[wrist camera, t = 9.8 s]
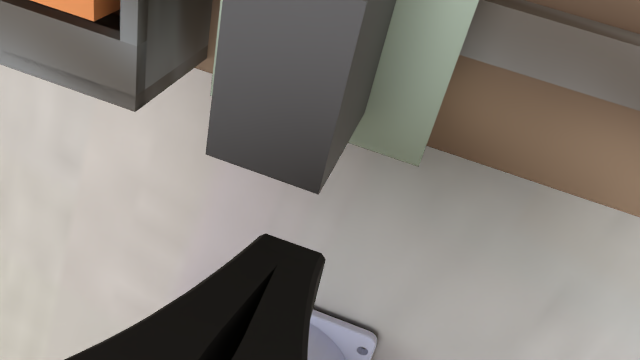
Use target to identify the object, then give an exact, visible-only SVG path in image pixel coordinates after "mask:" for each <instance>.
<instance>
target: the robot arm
mask: <svg viewBox="0 0 640 360" xmlns="http://www.w3.org/2000/svg"><path fill="white" fill-rule="evenodd" d="M324 264H325V258H324V256H323V255H322V253H319V252H316V251H313V250H310V249H308V248H305V247H302V246H299V245H296V244H293V243H291V242H288V241H285V240H282V239H279V238H276V237H274V236H271V235H268V234H263V235H261V236H259V237H258V238H257V239H256V240H255V241H253V242H252V243H251V244H250V245H249V246H248V247H246V248H245V249H244V250H243V251H242V252H240V253H239V254H238V255H237V256H235V257H234V258H233V259H232V260H230V261H229V262H228V263H226V264H225V265H224V266H223V267H221V268H220V269H219V270H217V271H216V272H215V273H213V274H212V275H210V276H209V277H208V278H206V279H205V280H203V281H202V282H201V283H199V284H198V285H196V286H195V287H194V288H192V289H191V290H189V291H188V292H186V293H185V294H183V295H182V296H180V297H179V298H177V299H176V300H174V301H172V302H171V303H169V304H168V305H166V306H165V307H163V308H161V309H160V310H158V311H157V312H155V313H154V314H152V315H150V316H149V317H147V318H145V319H143V320H142V321H140V322H138V323H137V324H135V325H133V326H131V327H129V328H128V329H126V330H124V331H122V332H120V333H118V334H116V335H114V336H112V337H111V338H109V339H107V340H105V341H103V342H101V343H99V344H97V345H94V346H92V347H90V348H88V349H86V350H84V351H82V352H80V353H78V354H76V355H73V356H71V357H69V358H67V359H65V360H371V358H372V355H373V353H374V350H375V348H376V345H377V337H376V336H375V335H374V334H373V333H372V332H370V331H368V330H365V329H363V328H360V327H357V326H355V325H352V324H350V323H347V322H344V321H342V320H339V319H337V318H334V317H331V316H329V315H326V314H324V313H321V312H318V311H316V310H313V307H314V303H315V299H316V295H317V291H318V287H319V283H320V279H321V275H322V272H323V268H324ZM361 347H364V348H366V349H363V348H361Z"/></svg>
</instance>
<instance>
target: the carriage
mask: <svg viewBox="0 0 640 360" xmlns="http://www.w3.org/2000/svg"><path fill="white" fill-rule="evenodd" d="M478 2H479V0H221V1H220V11H219V20H218V29H217V38H216V48H215V57H214V66H213V76H212V85H211V94H210V96H212V102H211V111H210V120H209V129H208V138H207V147H206V155H209V156H212V157H215V158H218V159H220V160H223V161H226V162H229V163H232V164H234V165H237V166H240V167H243V168H246V169H248V170H251V171H254V172H257V173H260V174H262V175H265V176H268V177H271V178H274V179H276V180H279V181H282V182H285V183H288V184H290V185H293V186H296V187H299V188H302V189H305V190H307V191H310V192H313V193H316V194H319V193H320V191H321V189H322V187H323V186H324V184H325V182H326V180H327V179H328V177H329V175H330V173H331V171H332V170H333V168H334V166H335V164H336V163H337V161H338V159H339V157H340V156H341V154H342V152H343V150H344V149H345V147H346V145H347V143H350V144H353V145H356V146H359V147H362V148H365V149H368V150H371V151H374V152H377V153H380V154H383V155H385V156H388V157H391V158H394V159H397V160H400V161H403V162H406V163H409V164H412V165H415V166H418V167H419V164H420V162H421V159H422V156H423V153H424V151H425V148H426V145H427V142H428V140H429V137H430V134H431V131H432V129H433V126H434V123H435V120H436V117H437V115H438V112H439V109H440V106H441V104H442V101H443V98H444V95H445V93H446V90H447V87H448V84H449V82H450V79H451V76H452V73H453V71H454V68H455V65H456V62H457V60H458V57H459V54H460V51H461V49H462V46H463V43H464V40H465V38H466V35H467V32H468V29H469V26H470V24H471V21H472V18H473V15H474V13H475V10H476V7H477V4H478Z"/></svg>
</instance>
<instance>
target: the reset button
mask: <svg viewBox="0 0 640 360" xmlns="http://www.w3.org/2000/svg"><path fill="white" fill-rule="evenodd" d="M31 1H34V2H37V3H40V4H43V5H46V6H49V7H52V8H55V9H58V10H61V11H64V12H67V13H70V14H73V15H76V16H79V17H82V18H85V19H88V20H91V21H96V20H98V19H100V18H102V17H105V16H107V15H109V14H111V13H113V12H115V11H117V10H119V9H120V0H31Z"/></svg>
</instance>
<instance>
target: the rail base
mask: <svg viewBox="0 0 640 360" xmlns="http://www.w3.org/2000/svg"><path fill="white" fill-rule="evenodd" d="M220 1H221V0H120V9H119V10H117V11H115V12H113V13H111V14H109V15H107V16H105V17H102V18H100V19H98V20H96V21H91V20H88V19H85V18H82V17H79V16H76V15H73V14H70V13H67V12H64V11H61V10H58V9H55V8H52V7H49V6H46V5H43V4H40V3H37V2H34V1H31V0H0V64H1V65H4V66H6V67H9V68H12V69H15V70H18V71H21V72H23V73H26V74H29V75H32V76H35V77H38V78H40V79H43V80H46V81H49V82H52V83H55V84H58V85H60V86H63V87H66V88H69V89H72V90H75V91H77V92H80V93H83V94H86V95H89V96H92V97H94V98H97V99H100V100H103V101H106V102H109V103H111V104H114V105H117V106H120V107H123V108H126V109H129V110H131V111H134V112H136V111H137V110H138V109H140V108H141V107H142V106H144V105H145V104H146V103H148V102H149V101H150V100H152V99H153V98H154V97H156V96H157V95H158V94H160V93H161V92H162V91H164V90H165V89H166V88H168V87H169V86H170V85H172V84H173V83H174V82H176V81H177V80H178V79H180V78H181V77H183V76H184V75H185V74H187V73H188V72H189V71H191V70H192V69H193V68H197V69H200V70H203V71H206V72H209V73H212V74H213V66H214V57H215V48H216V38H217V29H218V20H219V11H220ZM426 146H429V147H432V148H435V149H438V150H441V151H444V152H447V153H450V154H453V155H456V156H459V157H462V158H465V159H468V160H471V161H474V162H477V163H480V164H483V165H486V166H489V167H492V168H495V169H498V170H501V171H504V172H507V173H510V174H513V175H515V176H518V177H521V178H524V179H527V180H530V181H533V182H536V183H539V184H542V185H545V186H548V187H551V188H554V189H557V190H560V191H563V192H566V193H569V194H572V195H575V196H578V197H581V198H584V199H587V200H590V201H593V202H596V203H599V204H602V205H605V206H608V207H611V208H614V209H617V210H620V211H623V212H626V213H629V214H632V215H635V216H638V217H640V0H479V2H478V4H477V7H476V10H475V13H474V15H473V18H472V21H471V24H470V26H469V29H468V32H467V35H466V38H465V40H464V43H463V46H462V49H461V51H460V54H459V57H458V60H457V62H456V65H455V68H454V71H453V73H452V76H451V79H450V82H449V84H448V87H447V90H446V93H445V95H444V98H443V101H442V104H441V106H440V109H439V112H438V115H437V117H436V120H435V123H434V126H433V129H432V131H431V134H430V137H429V140H428V142H427V145H426Z"/></svg>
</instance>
